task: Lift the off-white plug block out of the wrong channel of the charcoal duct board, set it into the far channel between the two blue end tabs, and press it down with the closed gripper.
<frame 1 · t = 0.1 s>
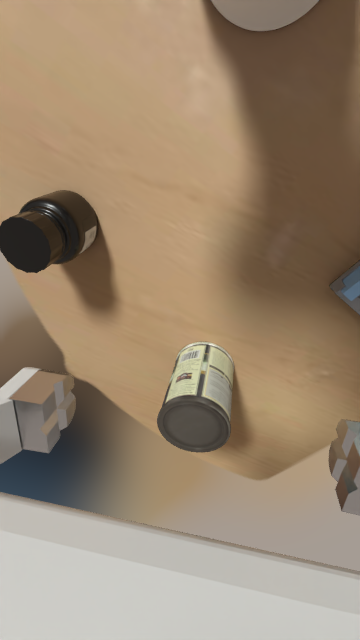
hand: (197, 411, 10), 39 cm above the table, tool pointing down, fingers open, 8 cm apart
coffee can: (205, 365, 58), on the table
ink bottle: (71, 220, 50), on the table
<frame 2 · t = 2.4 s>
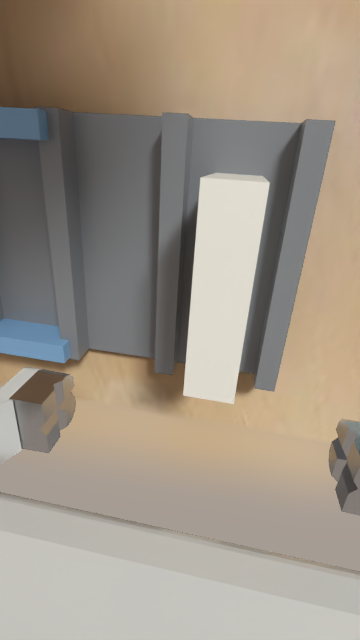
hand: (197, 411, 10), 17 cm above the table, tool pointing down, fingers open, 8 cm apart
plug block: (228, 264, 24), point 1 cm above the table, touching duct board
duct board: (126, 249, 26), on the table
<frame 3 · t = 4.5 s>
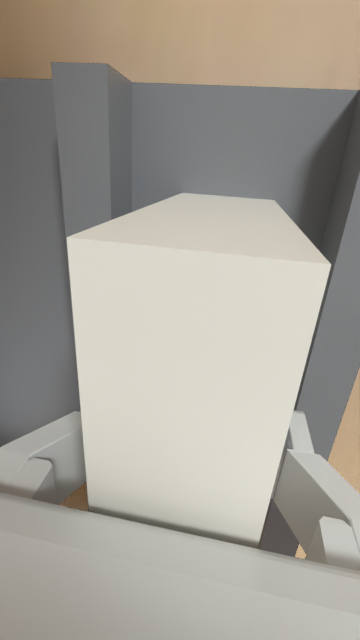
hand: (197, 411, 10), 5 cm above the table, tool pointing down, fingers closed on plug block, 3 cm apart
plug block: (209, 354, 13), point 1 cm above the table, touching duct board, gripper
duct board: (39, 318, 15), on the table
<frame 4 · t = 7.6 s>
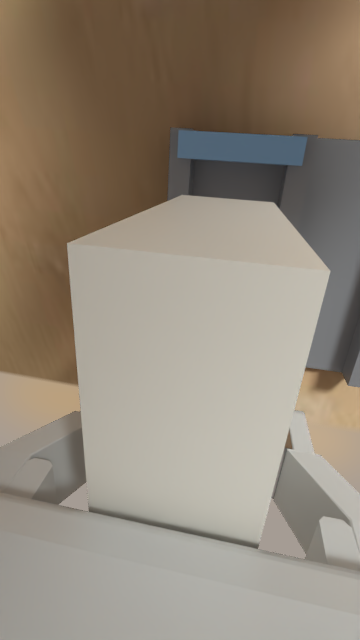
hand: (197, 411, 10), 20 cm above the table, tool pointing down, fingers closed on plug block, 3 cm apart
plug block: (209, 355, 13), point 16 cm above the table, touching gripper
duct board: (326, 266, 27), on the table
when the fingers open (6 cm above the table, at t = 10.9 s): plug block stays where it is, resting on duct board.
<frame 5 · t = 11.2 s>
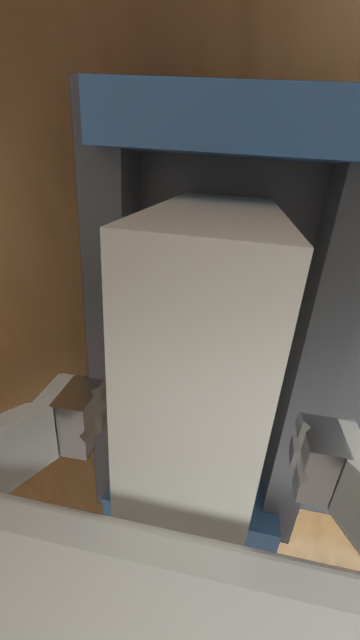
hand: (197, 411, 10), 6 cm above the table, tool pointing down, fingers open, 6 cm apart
plug block: (211, 343, 14), point 1 cm above the table, touching duct board
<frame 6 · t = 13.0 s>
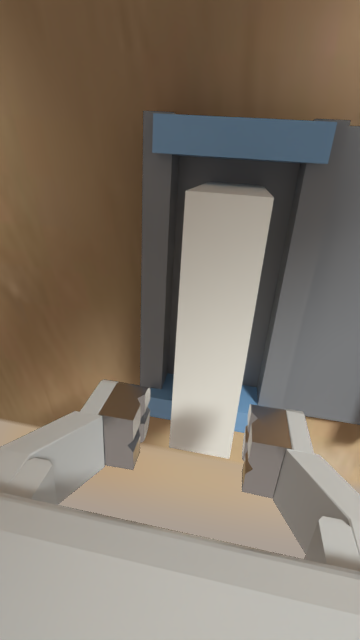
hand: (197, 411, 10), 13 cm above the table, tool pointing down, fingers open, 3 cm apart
plug block: (223, 286, 21), point 1 cm above the table, touching duct board
duct board: (351, 295, 21), on the table
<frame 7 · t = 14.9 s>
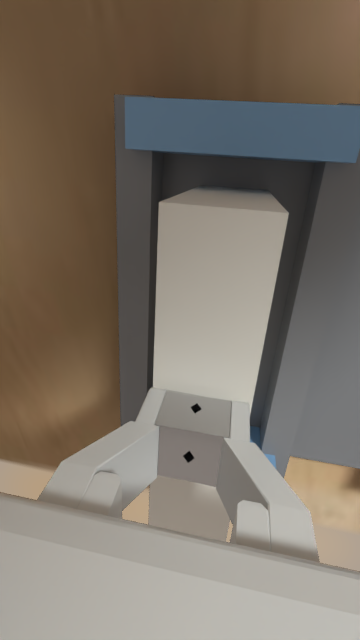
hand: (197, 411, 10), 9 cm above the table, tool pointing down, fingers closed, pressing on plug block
plug block: (219, 311, 17), point 1 cm above the table, touching duct board, gripper
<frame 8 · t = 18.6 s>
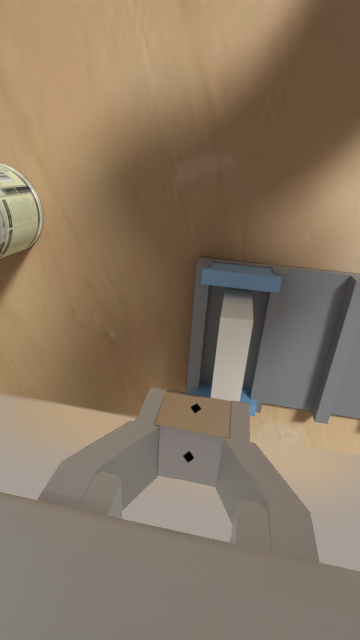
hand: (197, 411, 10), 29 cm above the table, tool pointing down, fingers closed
plug block: (231, 336, 40), point 1 cm above the table, touching duct board
coffee can: (5, 209, 40), on the table
duct board: (299, 341, 40), on the table
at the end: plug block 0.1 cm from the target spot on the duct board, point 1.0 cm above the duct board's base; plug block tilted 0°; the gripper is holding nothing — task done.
